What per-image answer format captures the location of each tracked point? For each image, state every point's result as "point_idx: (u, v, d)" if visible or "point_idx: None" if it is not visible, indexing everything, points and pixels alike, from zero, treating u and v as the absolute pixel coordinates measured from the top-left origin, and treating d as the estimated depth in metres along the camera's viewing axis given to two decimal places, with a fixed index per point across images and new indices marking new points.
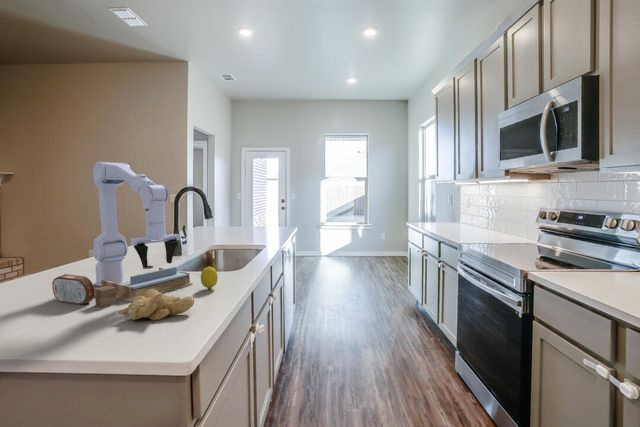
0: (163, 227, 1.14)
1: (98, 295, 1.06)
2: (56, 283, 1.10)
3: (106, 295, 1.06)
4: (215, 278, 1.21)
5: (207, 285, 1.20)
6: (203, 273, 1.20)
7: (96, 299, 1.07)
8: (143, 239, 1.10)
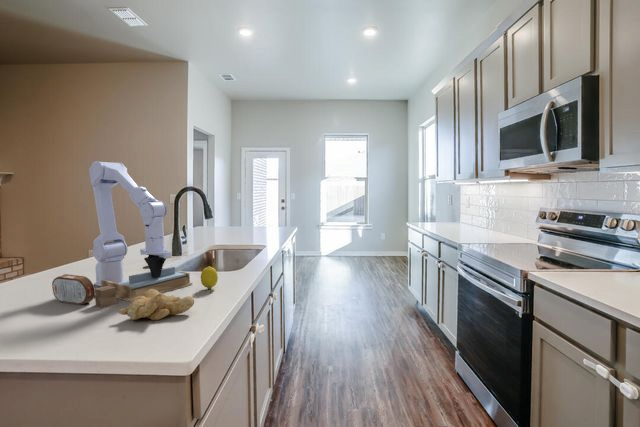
0: (150, 243, 1.18)
1: (98, 295, 1.06)
2: (56, 283, 1.10)
3: (106, 295, 1.06)
4: (215, 278, 1.21)
5: (207, 285, 1.20)
6: (203, 273, 1.20)
7: (96, 299, 1.07)
8: (143, 250, 1.22)
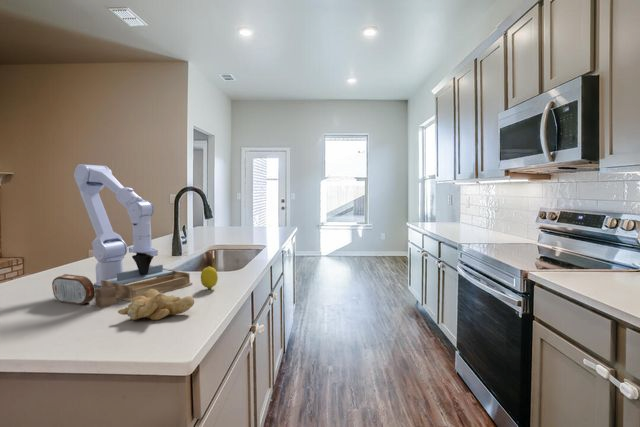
0: (137, 241, 1.22)
1: (98, 295, 1.06)
2: (56, 283, 1.10)
3: (106, 295, 1.06)
4: (215, 278, 1.21)
5: (207, 285, 1.20)
6: (203, 273, 1.20)
7: (96, 299, 1.07)
8: (131, 249, 1.26)
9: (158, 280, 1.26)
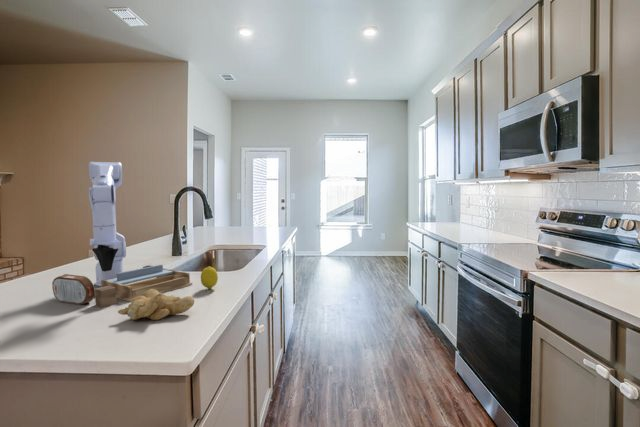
0: (98, 231, 1.04)
1: (98, 295, 1.06)
2: (56, 283, 1.10)
3: (106, 295, 1.06)
4: (215, 278, 1.21)
5: (207, 285, 1.20)
6: (203, 273, 1.20)
7: (96, 299, 1.07)
8: (92, 241, 1.08)
9: (158, 280, 1.26)
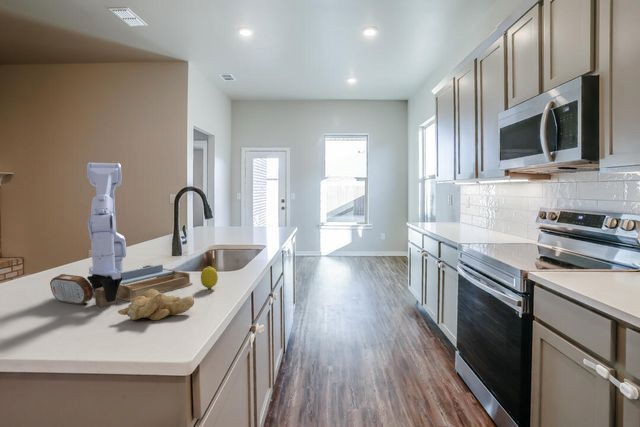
0: (97, 261, 1.04)
1: (98, 295, 1.06)
2: (54, 284, 1.09)
3: None
4: (215, 278, 1.21)
5: (207, 285, 1.20)
6: (203, 273, 1.20)
7: (96, 299, 1.07)
8: (91, 269, 1.08)
9: (158, 280, 1.26)
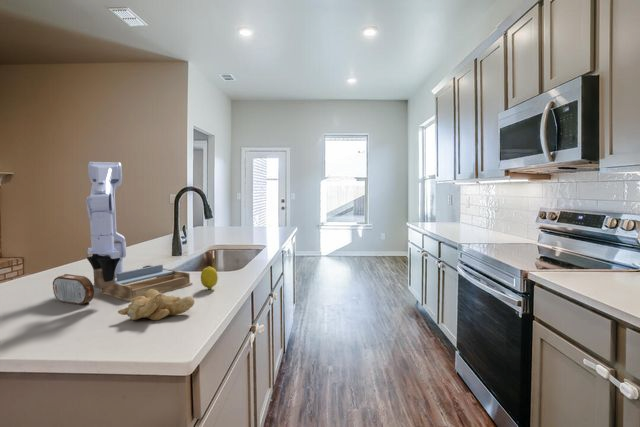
0: (96, 241, 1.04)
1: (96, 275, 1.06)
2: (57, 283, 1.10)
3: None
4: (215, 278, 1.21)
5: (207, 285, 1.20)
6: (203, 273, 1.20)
7: (95, 280, 1.06)
8: (90, 250, 1.08)
9: (158, 280, 1.26)
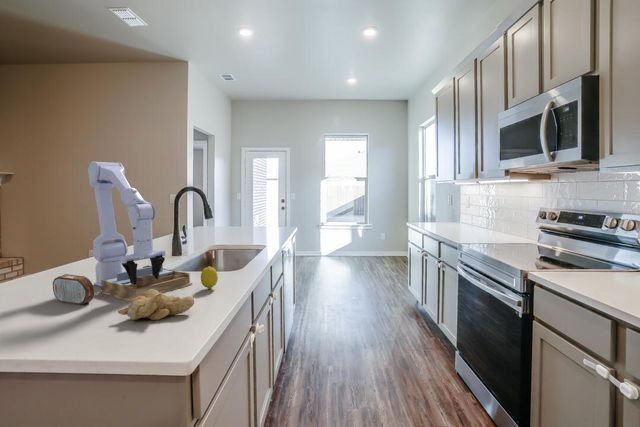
0: (151, 244, 1.18)
1: (148, 282, 1.18)
2: (56, 283, 1.10)
3: None
4: (215, 278, 1.21)
5: (207, 285, 1.20)
6: (203, 273, 1.20)
7: None
8: (132, 257, 1.14)
9: (158, 280, 1.26)
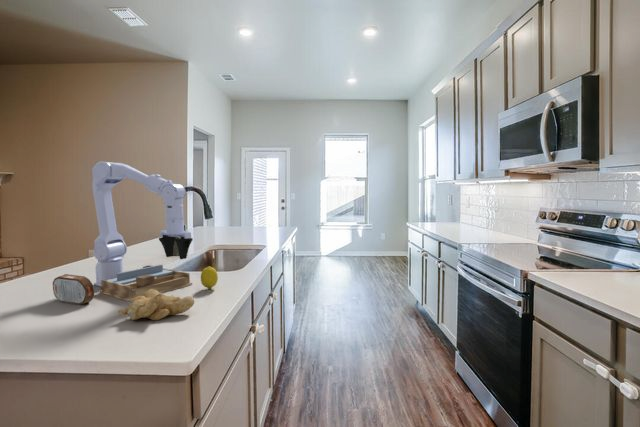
0: (171, 223, 1.22)
1: (148, 282, 1.18)
2: (56, 283, 1.10)
3: None
4: (215, 278, 1.21)
5: (207, 285, 1.20)
6: (203, 273, 1.20)
7: None
8: (163, 232, 1.26)
9: (158, 280, 1.26)
